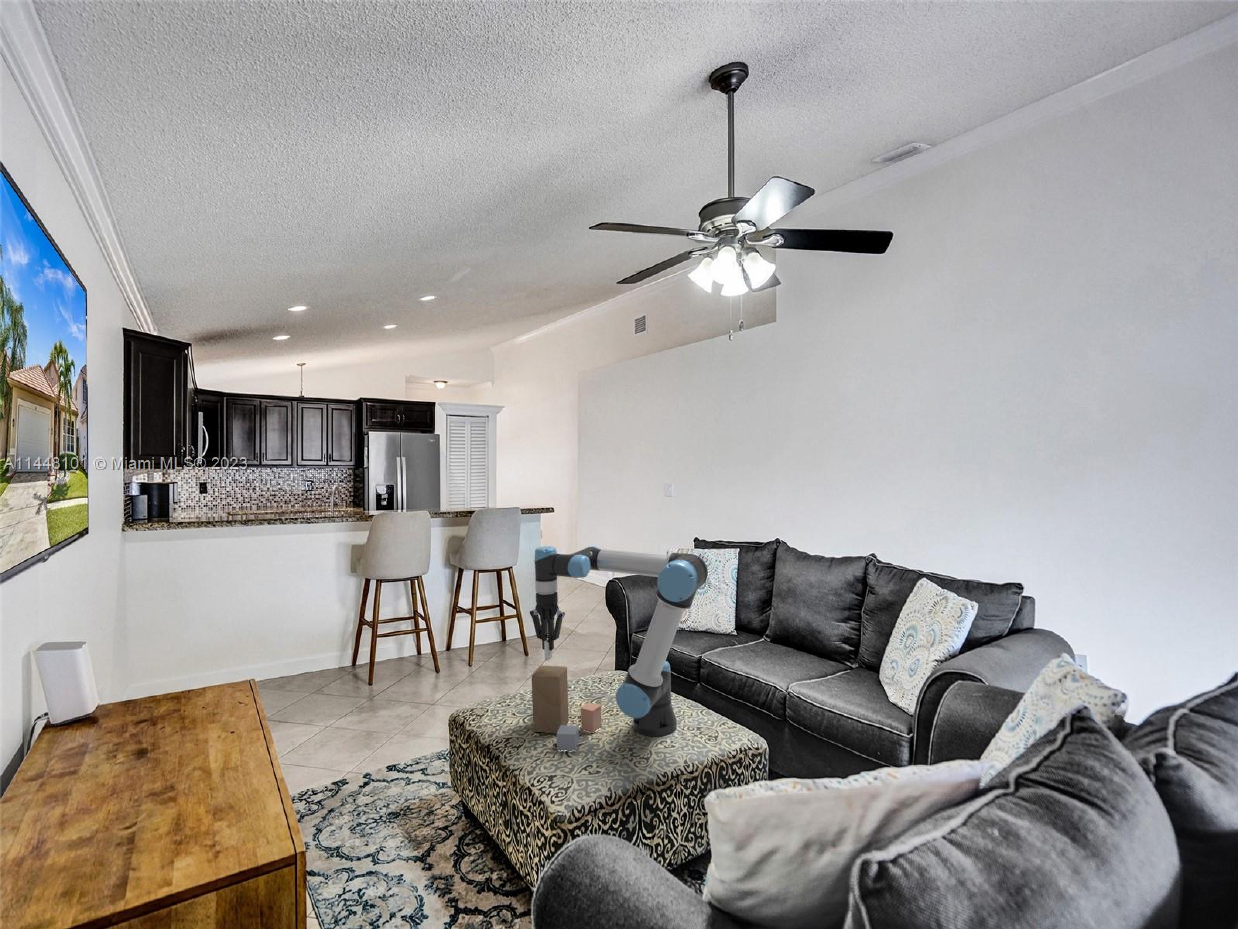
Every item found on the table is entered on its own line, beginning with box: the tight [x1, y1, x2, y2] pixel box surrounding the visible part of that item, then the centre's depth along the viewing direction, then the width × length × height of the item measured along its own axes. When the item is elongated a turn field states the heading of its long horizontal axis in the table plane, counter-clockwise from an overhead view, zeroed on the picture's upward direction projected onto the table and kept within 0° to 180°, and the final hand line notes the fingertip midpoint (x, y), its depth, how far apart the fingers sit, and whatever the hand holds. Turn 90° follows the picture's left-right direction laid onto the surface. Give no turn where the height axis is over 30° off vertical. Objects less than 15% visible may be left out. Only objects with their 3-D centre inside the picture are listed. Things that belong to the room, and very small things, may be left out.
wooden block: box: [531, 665, 570, 734], centre depth 220 cm, size 10×10×20 cm
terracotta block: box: [580, 702, 603, 732], centre depth 218 cm, size 5×5×8 cm
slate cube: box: [556, 724, 580, 751], centre depth 206 cm, size 6×6×6 cm
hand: (548, 659), depth 220 cm, fingers closed
